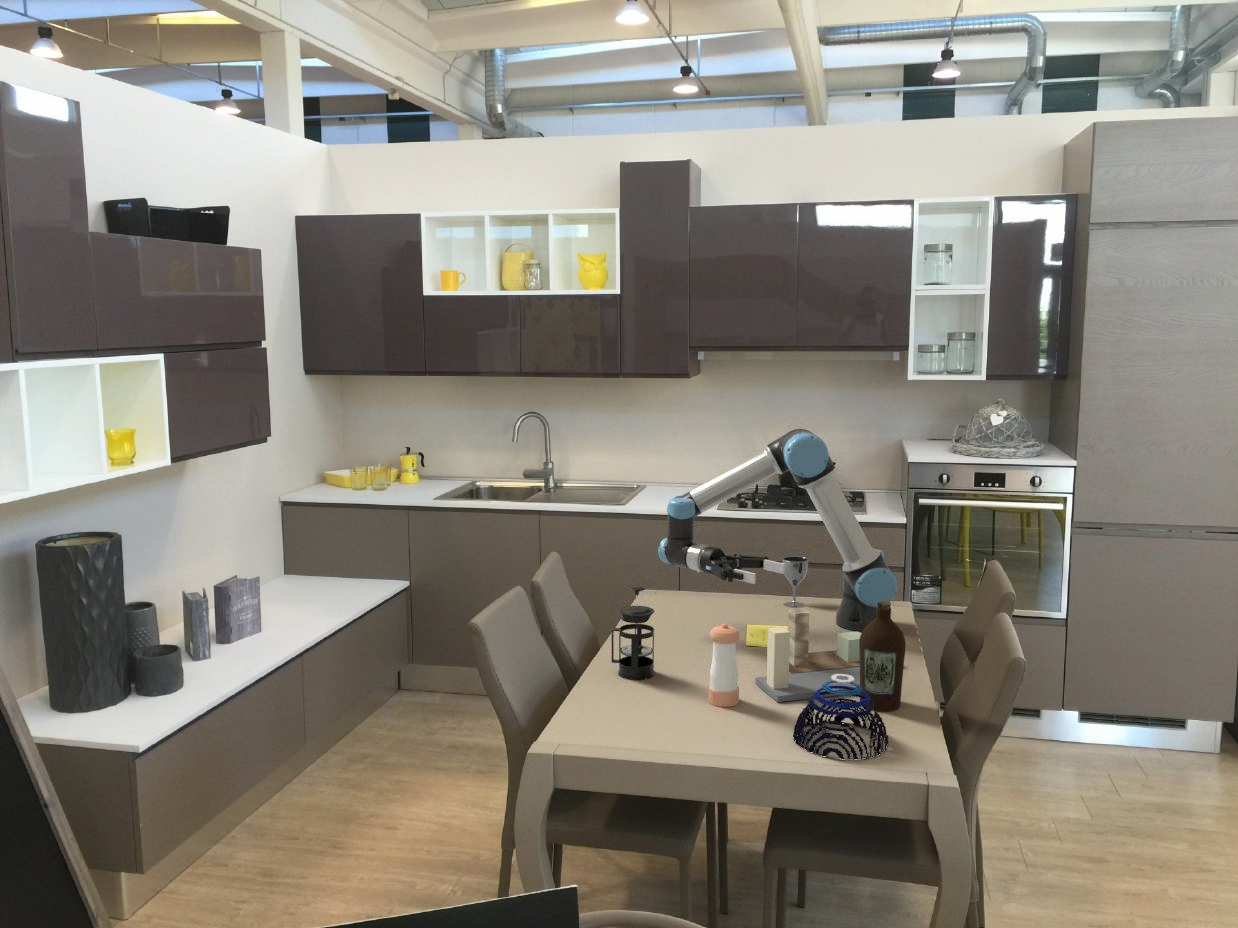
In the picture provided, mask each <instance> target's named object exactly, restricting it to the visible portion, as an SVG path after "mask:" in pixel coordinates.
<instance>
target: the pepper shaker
mask: <svg viewBox="0 0 1238 928" xmlns="http://www.w3.org/2000/svg"><path fill="white" fill-rule="evenodd" d="M709 637H710V639H711V641H712V642H713V643H712V661H711V666H710V670H709V676H710V677H709V685H708V695H707V696H708V698H707V701H708V702H709V704H711V705H712V706H715V707H720V708H729V707H734V706H737V705H738V704H739V701H740V687H739V686H738V685H739V684H738V682H739V680H738V679H739V674H738V673H739V672H738V666H737V665H738V664H737V642H738V641H739V640H740V638H741V637H740V632H739V631H738V629H737V628H736V627H734V626H732V625H729V624H728V623H722V624H721V625H718V626H715V627H712V629H711V630H710V633H709Z"/></svg>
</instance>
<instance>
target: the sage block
mask: <svg viewBox="0 0 1238 928" xmlns="http://www.w3.org/2000/svg"><path fill="white" fill-rule="evenodd" d="M861 633H862V632H860V631H848V632H838V633H837V637H836V638H837V640H836V642H837V643H836V650H837V655H838V656H839V657H841V658H842V659H844V660H845V661H847V662H855V661H860V657H859V639H860V635H861Z"/></svg>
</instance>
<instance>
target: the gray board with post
mask: <svg viewBox="0 0 1238 928" xmlns="http://www.w3.org/2000/svg"><path fill="white" fill-rule="evenodd" d="M766 651H767V653H766V659H767V660H766V676H759V677H755V678H754V679H755V684H756V685H757V686H758V687H759V688H760V689H761V690H763V692H765V693H766V694H767V695H769V697H771V698H772V699H773V700H774V701H775V702H777V703H781V702H790V701H791V702H792V701H800V700H810V698H811V697H812V696H813V695H814V694H815V692H816V691H817V690H818V689H820V688H823V687H822V685H823V684H824V683H826V682H828V681H832V680H831V676H832V675H834V674H847V675H851V676H853V677H854V681H853V683H857V684H858V685H860V667H853V668H843V669H834V670H824V671H814V672H805V673H795V674H792V673H790V672H789V652H790V632H789V631H788V629H787V628H785V627H771V628H767V650H766ZM837 679H839V680H848V678H847V677H837ZM836 685H838V686H840V685H842V686H844V685H845V686H849V687H853V688H856V686H855V685H852V684H850V683H839V682H835V683H830V684H829V685H828V686H836ZM833 689H834V690H838V691H853V690H849V689H838V688H836V689H835V688H833ZM823 691H825V690H822V691H820V692H823ZM820 696H821V697H822V698H826V697H835V696H836V697H837V696H838V695H836V694H825V695H820Z"/></svg>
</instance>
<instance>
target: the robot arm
mask: <svg viewBox="0 0 1238 928" xmlns="http://www.w3.org/2000/svg"><path fill="white" fill-rule="evenodd" d="M835 471H836V465H835V464H834V461H833V460H832V458H831V456H830V454H829V449H828V446H827V445H826V443H825V441H824V440H823V439H822V438H821V437H819V436H818V435H817V434H814V433H813V432H812V431H810V430H808V429H805V428H796V429H793V430H790V431H787V432H786V433H785V434H783V435H782V436H780V437H778V438H776V439H775V440H773V441H772V442H770V443H768V444H766V445H765V447H764V450H762V451H760V452H759V453H757V454H755V455H753V456H752V457H750V458H748V459H746V460H744V461H742V462H740V463H739V464H736V465H735V466H733V467H732V468H729V469H728V470H726V471H724V472H723V473H721V474H719V475H717V476H715V477H713V478H711V479H709V480H707V481H706V482H704V483H702V484H700V485H698V486H696V487H694V488H693V489H691V490H690V491H687V492H686V493H684V494H682V495H676V496H674V497H672V498H670V500H669V502H668V503H667V504H668V505H667V507H666V509H667V511H666V512H667V534H666V535H667V536H666V537H664V538H663V539H662V540H661V541H660V543H659V546H658V548H657V550H658V551H657V552H658V553H657V554H658V557H659V559H660V561H662V562H663V563H665V564H668V565H671V566H673V567H679V568H685V569H688V570H693V571H696V573H700V572H702V573H704V574H709V575H711V576H715V577H717V578H719V579H720V580H723V581H727V580H728V581H727V582H729V583H732V582H733V581H734V580H735V581H739V582H743V583H747V584H752V585H755V584H756V581H757V574H756V573H754V572H750V571H747V570H743V569H763V570H764V571H768V572H773V573H777V574H782V575H784V574H785V564H784V563H783V562H778V561H774V560H769V557H768V556H766V555H764V556H758V555H757V556H756V555H747V554H746V555H745V554H744V555H743V554H738V553H734V554H733V556H732V555H730V554H728V555H726V554H725V552H724V550H723V549H721V548H719V547H715V546H711V545H710V546H709V545H706V544H701V543H695V542H694V538H695V537H694V536H695V534H694V530H695V518H696V517H698V516H699V515H701V514H703V513H705V512H707V511H708V510H710V509H712V508H714V507H716V506H717V505H719V504H722V503H723V502H726V501H727V500H730V499H731V498H733V497H735V496H736V495H738V494H740V493H743V492H744V491H746V490H748V489H749V488H750V489H751V487H753V486H755V485H757V484H759V483H761V482H763V481H764V480H767V479H768V478H770V477H772V476H774V475H776V474H779V475H783V474H785V473H786V472H790V473H791V476H792V477H793V480H794V481H795V483H796V484H797V486H798V487H799V488H802V489H804V490H806V493H808V496H809V497H810V500H811V501H812V503H813V505H814V507H815V509H816V511H817V513H818V515H819V516H820V518H821V520H822V522H823V524H824V525H825V528H826V530H827V531H828V533H829V535H830V537H831V539H832V540H833V542H834V544H835V546H836V549H837V551H838V552H839V554H840V556H841V558H842V560H843V565H842V567H841V568H842V571H843V572H842V573H843V579H842V599H841V601H840V604H839V606H838V609H837V612H836V615H835V624H836V625H837V626H838V627H840V628H842V629H846V630H849V631H854V632H857V631H858V632H862V631H863V629H864V628H865V627H866V626H867V625H868V624H869V623H871V622H872V621H873V620H874V619H875V618H876V608H877V602H878V601H888V602H890V603H891V601H892V600H893V599H894V598H895V597H896V594H897V592H898V580H897V578H896V575H895V574H894V572H892V570H890V568H889V566H888V564H887V563H886V561H885V559H886V557H885V552H884V551H883V550H881V549H876V548H874V547H872V545H871V544H870V542H869V540H868V538H867V536H866V534H865V532H864V530H863V529H862V527H861V525H860V523H859V521H858V519H857V517H856V515H855V513H854V512H853V509H852V507H851V506H850V503H849V502H848V500H847V498H846V496H845V494H844V492H843V491H842V489H841V487H840V485H839V483H838V481H837V479H836V477H835V476H834V475H835V474H834V473H835Z"/></svg>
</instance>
